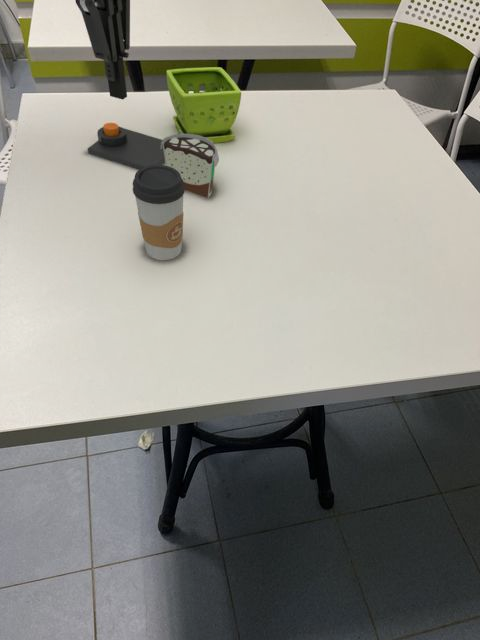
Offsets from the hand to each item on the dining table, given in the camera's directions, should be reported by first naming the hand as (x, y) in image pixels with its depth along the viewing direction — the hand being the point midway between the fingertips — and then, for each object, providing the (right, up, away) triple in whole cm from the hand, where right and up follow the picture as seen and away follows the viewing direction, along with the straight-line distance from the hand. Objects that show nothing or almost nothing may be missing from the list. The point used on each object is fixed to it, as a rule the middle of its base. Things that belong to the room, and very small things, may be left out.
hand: (118, 96), depth 92 cm
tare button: (-7, +1, +18) cm, 19 cm away
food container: (+13, -13, +13) cm, 22 cm away
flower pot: (+12, +5, +28) cm, 31 cm away
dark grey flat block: (-2, -3, +19) cm, 20 cm away
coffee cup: (+9, -30, -2) cm, 31 cm away
